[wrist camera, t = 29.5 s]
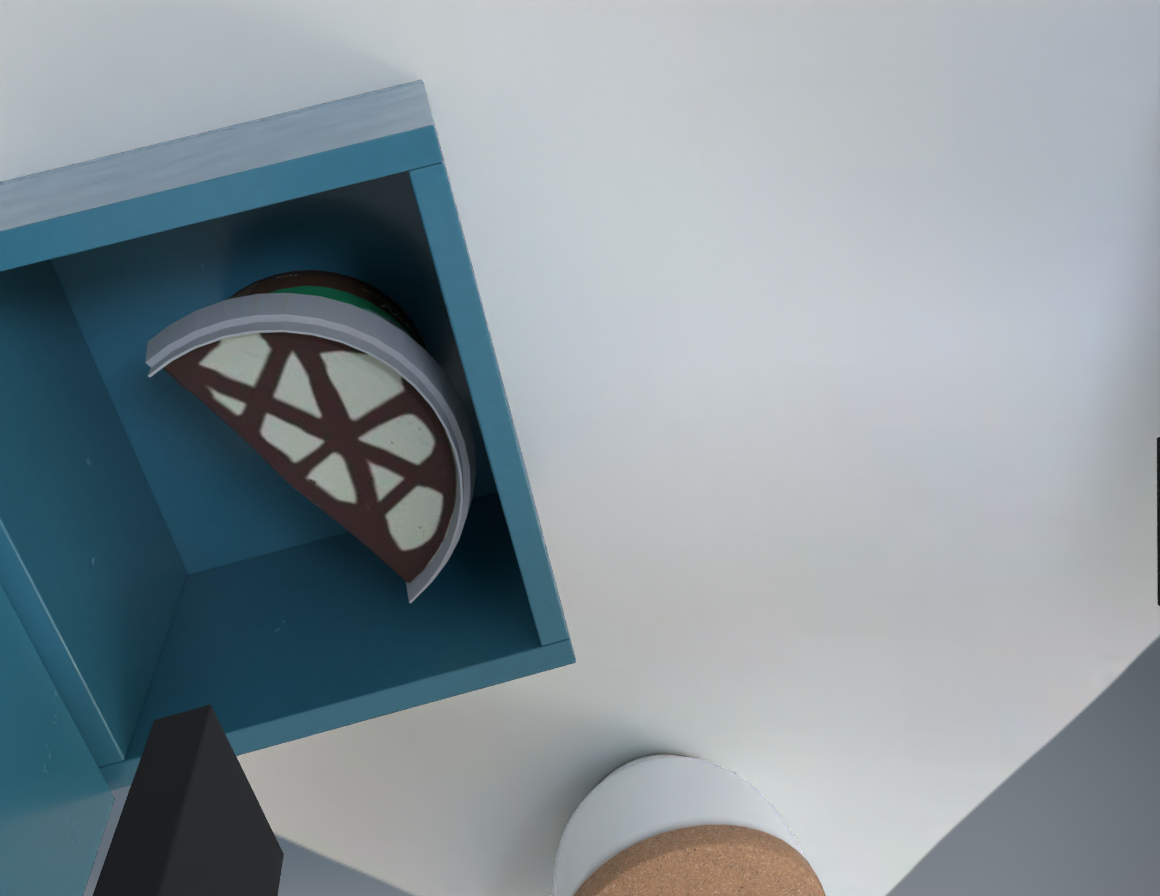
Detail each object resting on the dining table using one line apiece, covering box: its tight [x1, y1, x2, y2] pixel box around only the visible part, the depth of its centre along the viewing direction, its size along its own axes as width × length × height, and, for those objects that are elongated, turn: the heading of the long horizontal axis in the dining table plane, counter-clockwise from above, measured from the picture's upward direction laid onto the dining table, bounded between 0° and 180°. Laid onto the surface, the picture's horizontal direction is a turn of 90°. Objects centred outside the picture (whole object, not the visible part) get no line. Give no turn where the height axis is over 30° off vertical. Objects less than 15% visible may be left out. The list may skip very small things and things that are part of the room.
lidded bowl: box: [552, 754, 826, 896], centre depth 52 cm, size 13×13×11 cm
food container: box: [145, 270, 476, 603], centre depth 38 cm, size 12×6×10 cm, turn 40°
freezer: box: [0, 80, 576, 790], centre depth 38 cm, size 16×18×13 cm
